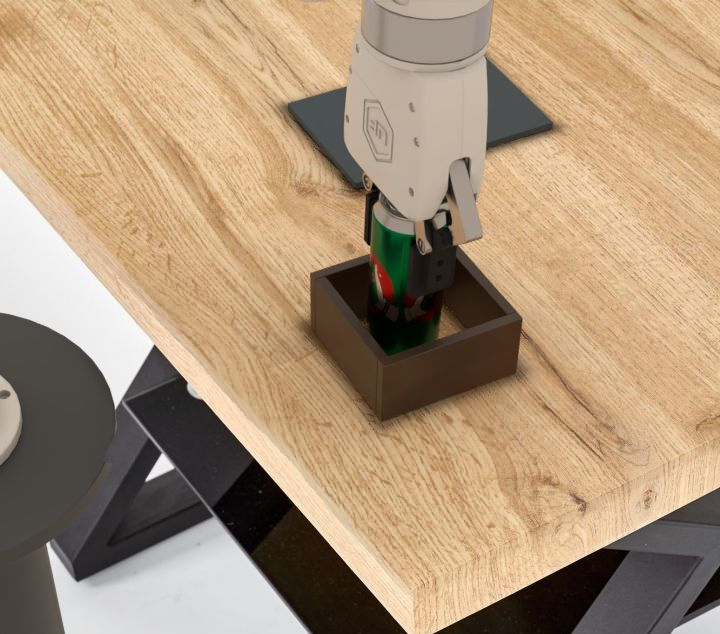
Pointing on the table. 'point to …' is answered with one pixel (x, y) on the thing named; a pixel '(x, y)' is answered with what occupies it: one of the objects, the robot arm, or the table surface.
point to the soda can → (398, 284)
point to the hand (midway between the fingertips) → (407, 262)
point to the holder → (425, 362)
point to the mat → (504, 120)
